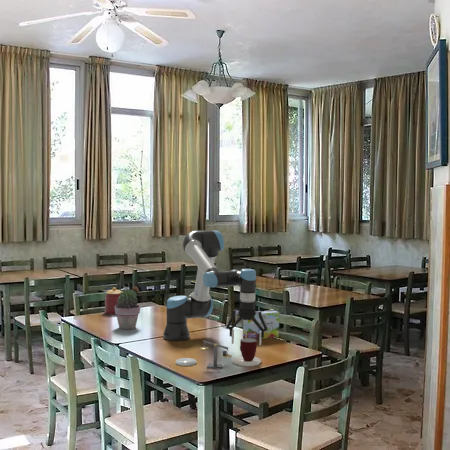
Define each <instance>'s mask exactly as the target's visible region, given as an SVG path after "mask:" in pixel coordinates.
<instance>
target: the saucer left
mask: <svg viewBox="0 0 450 450" xmlns="http://www.w3.org/2000/svg"><path fill="white" fill-rule="evenodd" d="M175 364H176V365H177V366H180V367H189V366H194V365H196V364H197V360H196V359H195V358H192V357H190V358H189V357H181V358H177V359H176V360H175Z"/></svg>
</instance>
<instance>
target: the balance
mask: <svg viewBox="0 0 450 450" xmlns="http://www.w3.org/2000/svg"><path fill="white" fill-rule="evenodd" d="M202 343H203V346H202V347H199V350H200V351H209V349H210V347H207V346H205V345H206V344H208V345H211V346H213V363H212V362H211V363H208V365H207V369H217V370H218V369H221V370H222V369H223V367H224V364H223V363H218V348H221V349H224V350H222V355H221V356H222V358H224V359H225V358H226V359H227V358H228V359H229V358H232V354H228V353H227V351H228V350H229V347H228V346H225V345H221V344H218V343H217V342H215V343H214V342H212V341H207V340H204V339H203V340H202Z"/></svg>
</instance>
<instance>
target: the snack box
mask: <svg viewBox="0 0 450 450" xmlns="http://www.w3.org/2000/svg"><path fill="white" fill-rule="evenodd" d="M261 313H262V317H263V319H264V321H265V324H266V326H267V328H268V329H267V331H264V337H263V338H261V340H263V339H271V338H272V339H273V338H279V335H280V334H279V333H280V311H277V310H265V311H261ZM254 317H255V318H256V320H257V321H258V322H259V324H260V325H261V326H262V327H263V325H262V322H261V320H260V318H259V316H257V314H255V316H254ZM242 322H243V323H242V324H243V327H242V339H244V338H252V339H256V340H260V331H261V330H260V329H259V328H258V326H257V325H256V324H255V323H254V321H252V319H251V320H243V319H242ZM263 328H264V327H263Z"/></svg>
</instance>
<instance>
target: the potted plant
mask: <svg viewBox="0 0 450 450" xmlns="http://www.w3.org/2000/svg"><path fill="white" fill-rule="evenodd" d="M138 293H140V289H139V287H137V286H136V285H134V286H133V287H132V288H131V289H128V288H126V289H124V290H122V292H121V293H120V296H119V298H118V301H116V302H118V303H117V305H116V306H115V314H114V315H116V319H117V324H118V328H119V329H120V330H134V329H136V326H137V322H138V318H139V315H140V312H141V307H143V306H142V305H141V306H140V304H138V301H139V300H138V298H137V297H138V296H139V297H140V295H138ZM114 303H115V302H114ZM133 328H134V329H133Z"/></svg>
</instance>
